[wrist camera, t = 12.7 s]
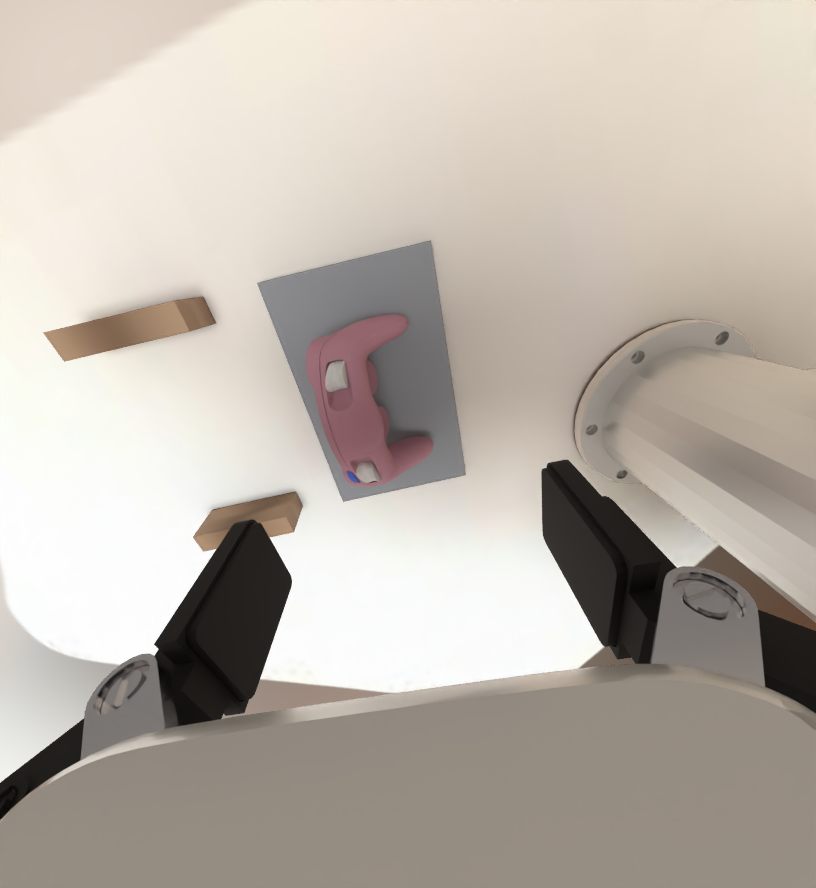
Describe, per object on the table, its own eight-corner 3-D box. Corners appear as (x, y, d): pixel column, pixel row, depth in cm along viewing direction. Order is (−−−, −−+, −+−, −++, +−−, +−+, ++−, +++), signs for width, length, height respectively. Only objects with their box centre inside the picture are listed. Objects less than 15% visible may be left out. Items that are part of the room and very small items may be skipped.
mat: (429, 241, 18) (430, 240, 18) (464, 470, 26) (465, 474, 25) (260, 282, 19) (257, 283, 18) (343, 497, 26) (343, 501, 26)
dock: (203, 296, 19) (174, 300, 16) (302, 506, 26) (293, 532, 24) (90, 324, 19) (43, 332, 16) (221, 523, 27) (203, 551, 24)
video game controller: (347, 317, 21) (271, 348, 15) (411, 304, 19) (350, 336, 13) (384, 447, 25) (336, 506, 20) (439, 448, 23) (402, 514, 18)
